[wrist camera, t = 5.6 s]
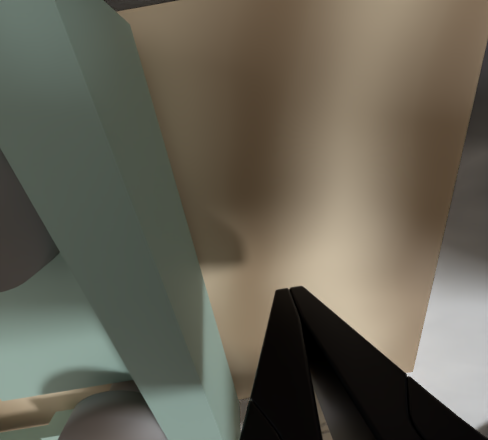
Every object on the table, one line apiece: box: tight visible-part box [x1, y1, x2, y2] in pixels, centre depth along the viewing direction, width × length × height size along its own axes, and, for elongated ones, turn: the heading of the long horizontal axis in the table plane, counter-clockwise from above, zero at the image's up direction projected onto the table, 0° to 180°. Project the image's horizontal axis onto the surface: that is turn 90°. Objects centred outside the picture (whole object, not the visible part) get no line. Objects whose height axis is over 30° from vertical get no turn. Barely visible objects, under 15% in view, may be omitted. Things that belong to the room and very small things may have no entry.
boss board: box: [0, 0, 488, 440], centre depth 8 cm, size 26×16×4 cm, turn 99°
